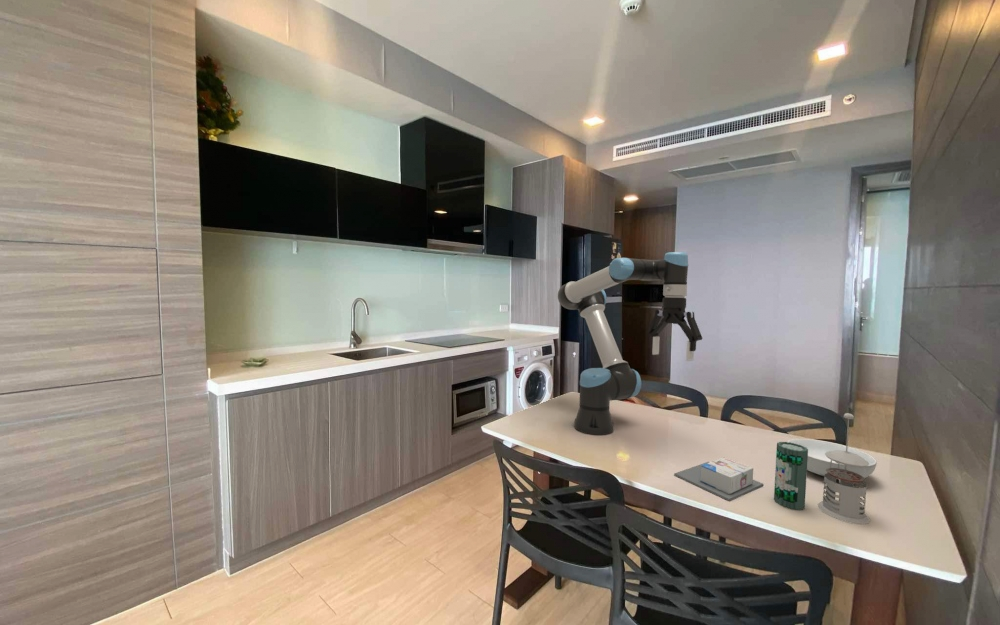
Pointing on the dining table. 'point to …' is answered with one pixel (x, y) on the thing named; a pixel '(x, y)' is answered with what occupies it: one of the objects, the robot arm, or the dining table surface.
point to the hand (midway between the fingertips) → (671, 357)
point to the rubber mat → (694, 478)
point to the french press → (845, 487)
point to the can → (790, 475)
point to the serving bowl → (821, 462)
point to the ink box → (726, 475)
